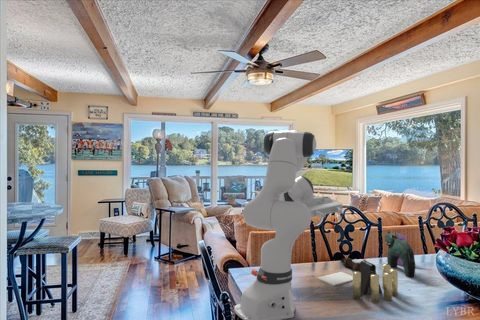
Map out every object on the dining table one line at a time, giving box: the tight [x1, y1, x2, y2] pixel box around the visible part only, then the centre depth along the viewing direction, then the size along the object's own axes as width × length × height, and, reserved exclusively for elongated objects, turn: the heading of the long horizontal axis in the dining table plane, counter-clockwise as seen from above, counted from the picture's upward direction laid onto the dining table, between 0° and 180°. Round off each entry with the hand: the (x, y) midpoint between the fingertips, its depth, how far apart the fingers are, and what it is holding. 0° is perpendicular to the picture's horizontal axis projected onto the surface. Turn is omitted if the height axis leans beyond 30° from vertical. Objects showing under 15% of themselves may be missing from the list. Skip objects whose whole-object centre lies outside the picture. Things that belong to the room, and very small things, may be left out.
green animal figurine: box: [384, 229, 416, 278], centre depth 157 cm, size 20×6×20 cm, turn 4°
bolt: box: [340, 257, 361, 272], centre depth 160 cm, size 6×5×15 cm
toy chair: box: [396, 233, 408, 266], centre depth 170 cm, size 8×9×15 cm
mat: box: [316, 271, 353, 287], centre depth 145 cm, size 16×10×1 cm, turn 122°
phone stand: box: [359, 260, 383, 296], centre depth 131 cm, size 9×6×12 cm, turn 106°
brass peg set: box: [352, 263, 399, 304], centre depth 127 cm, size 22×10×10 cm, turn 122°
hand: (332, 214), depth 148 cm, fingers open, 8 cm apart
